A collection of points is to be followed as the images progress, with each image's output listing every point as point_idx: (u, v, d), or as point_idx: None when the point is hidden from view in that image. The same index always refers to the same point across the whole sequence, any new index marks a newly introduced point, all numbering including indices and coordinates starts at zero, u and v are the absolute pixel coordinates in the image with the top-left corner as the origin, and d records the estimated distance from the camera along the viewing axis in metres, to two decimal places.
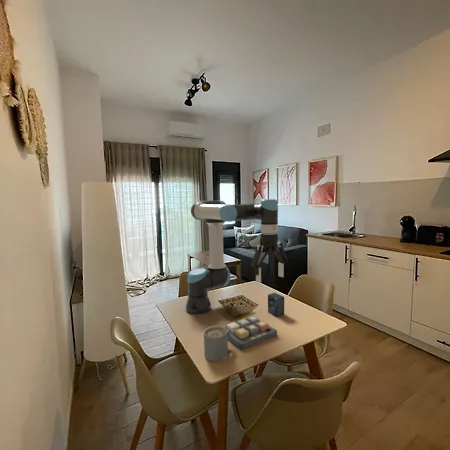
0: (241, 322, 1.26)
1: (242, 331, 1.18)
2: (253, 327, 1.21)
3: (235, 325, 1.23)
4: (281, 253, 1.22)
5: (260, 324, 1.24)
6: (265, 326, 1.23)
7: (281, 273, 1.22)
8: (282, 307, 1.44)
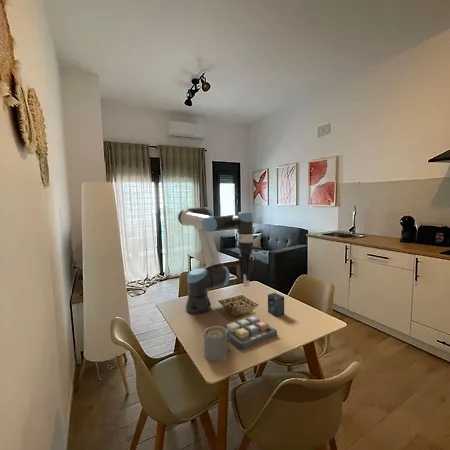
0: (241, 322, 1.26)
1: (242, 331, 1.18)
2: (253, 327, 1.21)
3: (235, 325, 1.23)
4: None
5: (260, 324, 1.24)
6: (265, 326, 1.23)
7: None
8: (282, 307, 1.44)
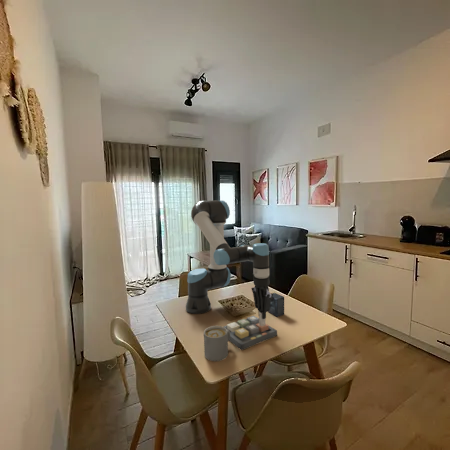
0: (241, 322, 1.26)
1: (242, 331, 1.18)
2: (253, 327, 1.21)
3: (235, 325, 1.23)
4: None
5: (260, 325, 1.24)
6: (265, 327, 1.23)
7: None
8: (282, 307, 1.44)
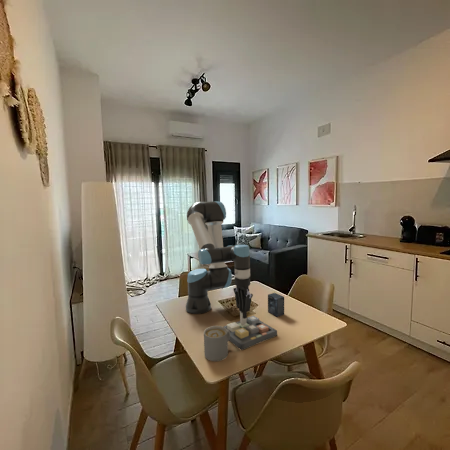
0: (241, 325, 1.26)
1: (242, 331, 1.18)
2: (253, 327, 1.21)
3: (235, 325, 1.23)
4: None
5: (260, 327, 1.24)
6: (265, 329, 1.23)
7: None
8: (282, 307, 1.44)
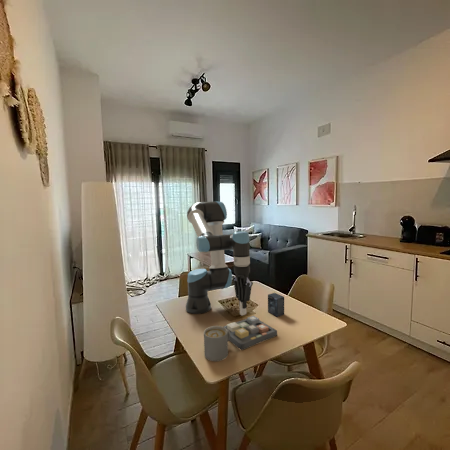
0: (241, 325, 1.26)
1: (242, 331, 1.18)
2: (253, 327, 1.21)
3: (235, 325, 1.23)
4: None
5: (260, 327, 1.24)
6: (265, 329, 1.23)
7: None
8: (282, 307, 1.44)
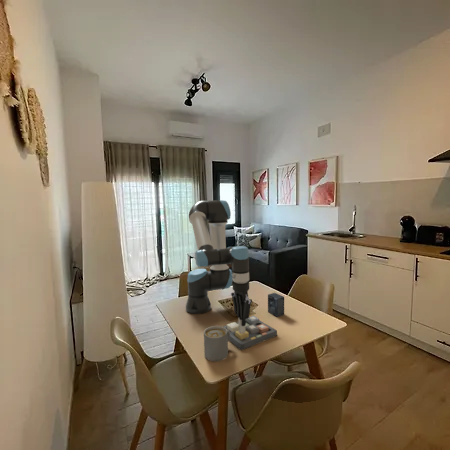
0: None
1: (242, 332, 1.18)
2: (253, 327, 1.21)
3: (235, 325, 1.23)
4: None
5: (260, 327, 1.24)
6: (265, 329, 1.23)
7: None
8: (282, 307, 1.44)
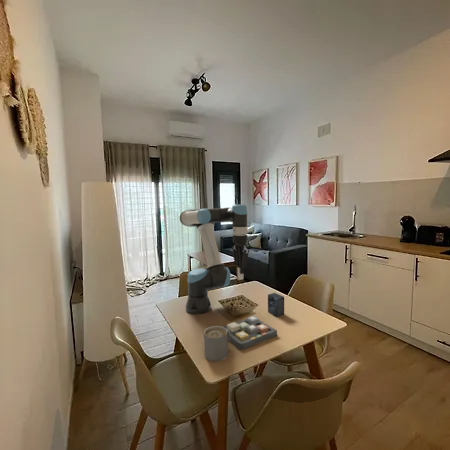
0: (241, 325, 1.26)
1: (242, 334, 1.18)
2: (253, 327, 1.21)
3: (235, 325, 1.23)
4: None
5: (260, 327, 1.24)
6: (265, 329, 1.23)
7: None
8: (282, 307, 1.44)
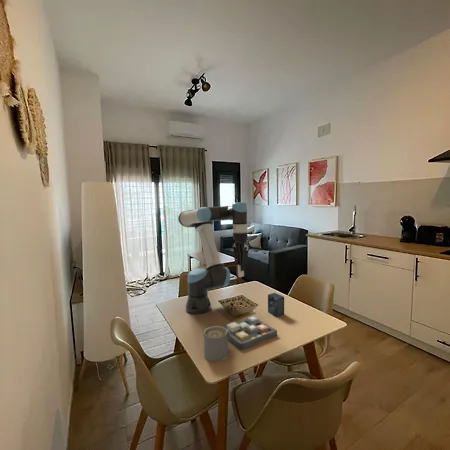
0: (241, 325, 1.26)
1: (242, 334, 1.18)
2: (253, 327, 1.21)
3: (235, 325, 1.23)
4: None
5: (260, 327, 1.24)
6: (265, 329, 1.23)
7: None
8: (282, 307, 1.44)
